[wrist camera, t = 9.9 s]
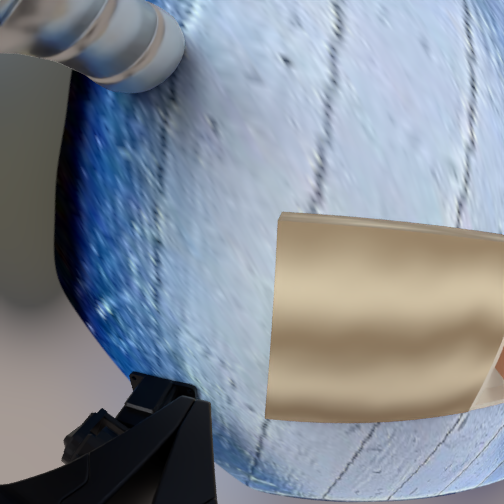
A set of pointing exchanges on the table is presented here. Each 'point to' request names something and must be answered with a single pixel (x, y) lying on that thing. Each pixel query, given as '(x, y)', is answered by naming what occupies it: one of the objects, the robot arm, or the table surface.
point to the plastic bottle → (97, 39)
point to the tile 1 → (500, 364)
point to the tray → (491, 387)
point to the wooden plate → (381, 319)
